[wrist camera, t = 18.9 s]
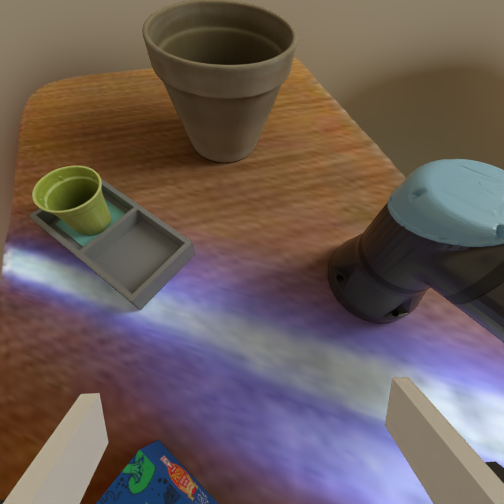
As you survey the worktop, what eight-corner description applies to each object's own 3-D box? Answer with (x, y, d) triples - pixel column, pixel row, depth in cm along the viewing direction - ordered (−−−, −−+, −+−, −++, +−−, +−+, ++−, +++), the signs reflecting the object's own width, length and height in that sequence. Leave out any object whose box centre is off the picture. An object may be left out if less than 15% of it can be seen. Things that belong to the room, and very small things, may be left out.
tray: (100, 186, 53) (91, 171, 49) (195, 254, 47) (192, 242, 43) (42, 228, 47) (26, 214, 44) (140, 310, 41) (131, 301, 38)
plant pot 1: (62, 209, 48) (30, 173, 40) (116, 195, 50) (95, 159, 43) (68, 251, 44) (33, 220, 36) (126, 233, 46) (105, 201, 39)
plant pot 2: (227, 96, 70) (225, -15, 51) (299, 143, 63) (328, 33, 44) (147, 138, 60) (109, 19, 42) (222, 199, 53) (216, 87, 34)
